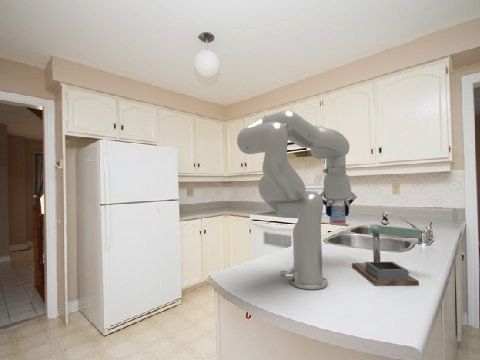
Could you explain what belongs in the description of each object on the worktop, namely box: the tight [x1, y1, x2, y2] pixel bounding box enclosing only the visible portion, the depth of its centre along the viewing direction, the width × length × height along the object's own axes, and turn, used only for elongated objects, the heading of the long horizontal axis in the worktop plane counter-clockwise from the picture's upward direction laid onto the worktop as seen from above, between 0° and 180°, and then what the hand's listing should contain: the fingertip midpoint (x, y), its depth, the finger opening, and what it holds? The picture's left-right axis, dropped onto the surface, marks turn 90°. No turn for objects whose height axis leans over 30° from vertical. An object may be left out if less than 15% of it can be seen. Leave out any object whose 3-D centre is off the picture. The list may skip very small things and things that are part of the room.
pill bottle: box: [329, 199, 346, 226], centre depth 106 cm, size 6×6×11 cm
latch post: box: [372, 233, 381, 262], centre depth 103 cm, size 2×2×12 cm
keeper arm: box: [369, 223, 422, 239], centre depth 98 cm, size 17×4×3 cm, turn 39°
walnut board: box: [351, 262, 420, 287], centre depth 95 cm, size 14×20×2 cm
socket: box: [364, 261, 409, 281], centre depth 90 cm, size 10×10×4 cm
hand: (337, 215), depth 106 cm, fingers closed on pill bottle, 6 cm apart
